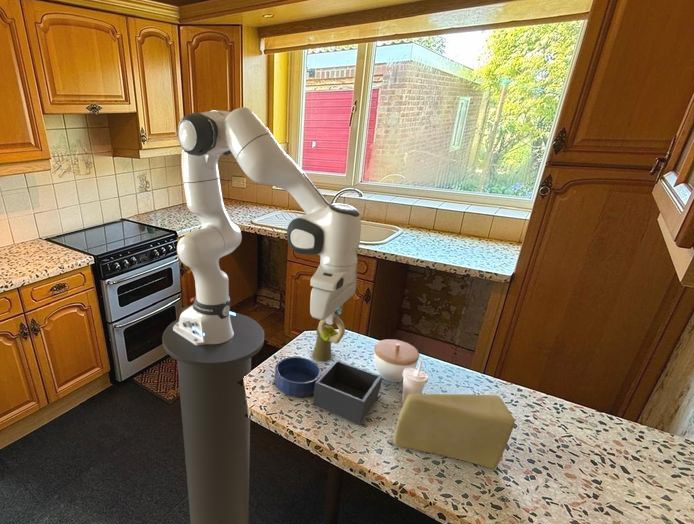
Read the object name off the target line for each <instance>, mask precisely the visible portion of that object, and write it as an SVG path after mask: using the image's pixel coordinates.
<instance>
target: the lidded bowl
mask: <svg viewBox="0 0 694 524" xmlns="http://www.w3.org/2000/svg"><path fill="white" fill-rule="evenodd" d="M419 359H420V352H419V350H418V349H417V348H416V347H415V346H414V345H412V344H410V343H408V342H405V341H403V340H399V339H391V338H390V339H389V338H388V339H382V340H379V341H377V342H376V343H375V344H374V347H373V365H374V368H375V370H376V372H377V374H378V375H380V376H382V379H384V380H385V381H388V382H391V383H399V382H403V378H404V377H403V371H404V370H405V369H407V368H417V364H418V361H419Z"/></svg>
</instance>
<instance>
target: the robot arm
mask: <svg viewBox="0 0 694 524" xmlns="http://www.w3.org/2000/svg"><path fill="white" fill-rule="evenodd" d="M176 133H177V140H178V143H179V146H180V148H181V154H180V155H181V157H180V158H181V159H180V160H181V176H182V182H183V183H182V184H183V190H184V196H185V202H186V207H187V209H188V211H189V212H191V213H192V214H195V215H196V217H197V219H198V221H199V222H200V225H201V227H200V228H198V229H193V230H192V231H189V232H188V233H187V234H185V235H184V236H183V237H181V238H179V240H178V241H177V245H176V254H177V257H178V258H179V260H180V262H181V263H182V264H183V265H184V266H186V267H188V268H189V269H190V271H191V273H192V275H193V278H194V286H195V295H194V297H191V298H190V301H189V302H190V303H192V302H193V304H189V305H187V306H185V307H182V308H181V313H180V315H179V318H178V319H179V322H177V323H176V324H175V325H174V327H173V331H175V332H176V333H178V334H179V335H181V336H182V337H184V338H185V339H187V340H188V341H190V342H191V343H193V344H194V345H197V346H200V345H205V344H220V343H224V342H226V341H228V340H230V339H231V338H232V337H233V335H234V332H233V329H232V325H231V319H230V314H231V315H234V316H236V313H237V312H234V311H231V297H230V295H229V294H230V292H229V290H230V289H229V287H230V285H229V283H230V282H229V281H230V280H229V276H228V274H227V273H226V272H225V271H223V270H222V269H221V267H220V259H221V258H223V257H226V256H228V255H230V254H231V253H233V252H234V251H235V250H236V249H237V248H238V247H240V245H241V243H242V240H243V239H242V238H243V236H242V231H241V228H240V227H239V226H238V225H237V224H236V223H235V222H233V220H232V219H231V218H230V216H229V214H228V212H227V209H226V207H225V206H226V205H225V203H224V197H223V192H222V185H221V177H220V171H219V159H220V157H221V156H222V155H223V156H229V155H230V154H232V156H233V157H234V159H235V161H236V162H237V164H238V165H239V167H240V169H241V170H242V172H243V173H244V175H246V176H247V177H248V178H249V179H250V180H252V182H254V183H256V184H261V185H265V186H266V185H267V186H270V187H271V186H272V187H275V188H280V189H282V190H283V191H285V192H287V193H289V195H291V196H292V198H293V199H294V201H296V203H297V204H298V205H299V207H300V208H301V210H303V212H304V213H305V214H303V215H300V216H298V217H296V218H294V219H292V220H291V221H290V222H289V224H288V225H287V229H286V240H287V243H288V245H289V247H290V248H291V249H292V250H293V251H294V252H296V253H297V254H300V255H305V256H306V255H308V256H309V255H312V256H314V255H318V256H319V257H320V258H319V259H320V260H319V265H318V267H317V269H316V271H315V272H314V274H313V275H312V276H311V278H310V281H309V283H310V284H309V285H310V287H312V288H311V291H310V301H309V314H310V316H311V317H312V318H313V319H316V320H319V321H321V320H325V319H326V325H328V326H332V325H333V324H335V323H334V320H335V317H333V314H334V311H335V310H336V309H339V308H340V307H341V305H342V307H343V306H344V304H345V303H346V302H347V301H348V300H350V299H351V298H352V297H353V295H355V293H356V291H357V279H358V273H357V269H358V254H357V253H358V249H359V247H360V244H361V236H362V235H361V233H362V218H361V214H360V211H359V210H358V209H357V208H355V207H354V206H352V205H349V204H345V203H339V202H338V203H337V202H336V203H330V202H329V201H328V200H327V199H326V198H325V196H323V194H322V193H321V191H320V190H319V189H318V188H317V186H316V185H315V183H313V181H312V180H311V179H310V178H309V176H308V175H307V174H306V173H305V172H304V170H303V169H302V168H301V167H300V165H298V164H297V163H296V161H294V160H293V159H292V158H291V157H290V156H289V155H288V154H287V153H286V151H285V150H284V149H283V147H281V145H280V144H279V143H278V141H277V139H276V138H275V137H274V135H273V133H272V132H271V130H270V129H269V128H268V126H267V125H266V124H265V123H264V122H263V120H262V119H261V118H260V117H259V116H258V115H257V114H256V113H255V112H254V111H253V110H252V109H251V108H248V107H245V106H243V107H238V108H235V109H233V110H232V109H229V110H222V109H212V110H209V111H202V112H191V113H188V114H186V115H185V116H183V117H182V118H181V119H180V121H179V123H178V126H177V132H176ZM233 312H234V313H233ZM340 315H341V314H339V315H338V317H339V318H340Z"/></svg>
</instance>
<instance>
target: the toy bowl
mask: <svg viewBox="0 0 694 524" xmlns="http://www.w3.org/2000/svg"><path fill="white" fill-rule="evenodd" d="M321 376H322V369H321V367H320V366H319V364H318V363H316V362H315V361H314V360H311V359H308V358H306V357H302V356H290V357H285V358H282V359H281V360H279V361H278V362H277V363H276V365H275V368H274V384H275V386H276V388H277V390H279V391H280V392H281V393H283V394H285V395H286V396H287V395H288V396H290V397H296V398H303V397H309V396H312V395H314V389H315V382H316V381H317V380H318V379H319V378H320V377H321Z"/></svg>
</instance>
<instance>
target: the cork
mask: <svg viewBox="0 0 694 524" xmlns="http://www.w3.org/2000/svg"><path fill="white" fill-rule="evenodd" d="M330 326H331V325H329V324H325V327H328V328H329V327H330ZM316 334H317V337H316V341H315V345H314V348H313V351H312V356H313V358H314V359H315V360H317V361H322V362H326V361H327V362H328V361H330V360H331V359H332V342H328V341H325V340H324V339H322V338H321V337H320V336H321V334H320V332H319V326H317V328H316Z"/></svg>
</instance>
